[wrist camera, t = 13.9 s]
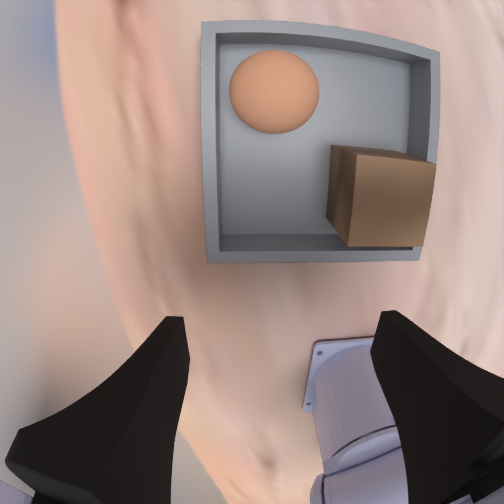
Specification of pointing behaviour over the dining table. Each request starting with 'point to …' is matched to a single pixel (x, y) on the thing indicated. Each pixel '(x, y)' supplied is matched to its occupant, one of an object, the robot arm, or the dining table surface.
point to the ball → (274, 91)
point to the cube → (379, 196)
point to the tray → (306, 137)
